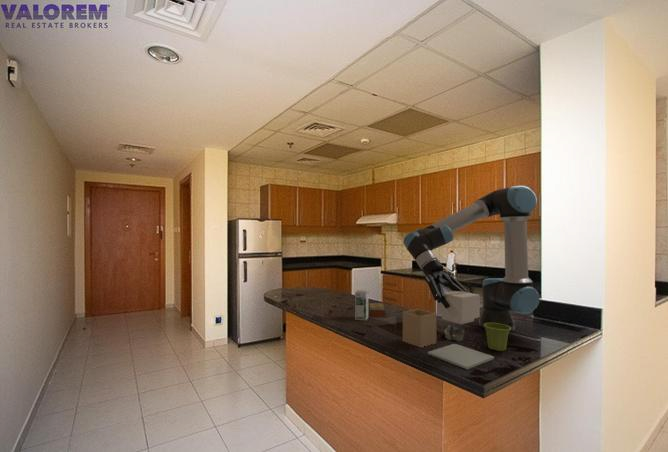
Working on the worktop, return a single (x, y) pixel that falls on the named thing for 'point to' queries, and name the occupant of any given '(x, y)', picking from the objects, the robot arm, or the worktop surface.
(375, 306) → the carton
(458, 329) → the egg carton
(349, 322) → the worktop surface
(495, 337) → the plant pot
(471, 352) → the board
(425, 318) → the brown open box
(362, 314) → the syrup box
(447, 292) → the off-white cube block
